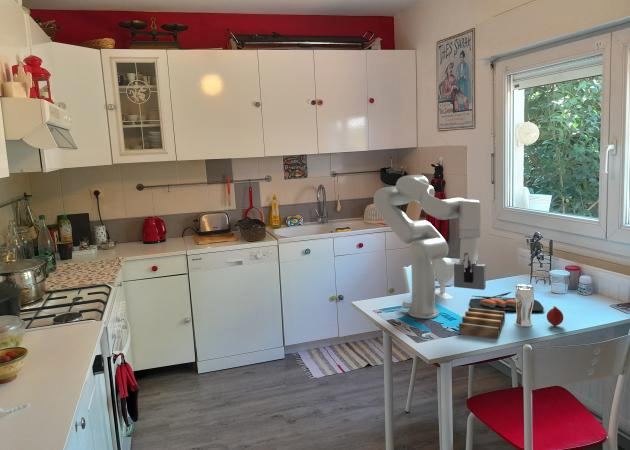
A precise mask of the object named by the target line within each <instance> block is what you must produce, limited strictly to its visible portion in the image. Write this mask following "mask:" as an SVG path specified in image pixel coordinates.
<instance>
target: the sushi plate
mask: <svg viewBox="0 0 630 450" xmlns="http://www.w3.org/2000/svg"><path fill="white" fill-rule="evenodd" d="M511 293H512V291H509V292H506V293H501V294H497V295H493V296H483V295H482V296H480V295H473V296H474V297H473V298H471V299H469V304H470V306H471V308H477V309H486V310H495V311H515V312H516V307H515V297H504V296H505V295H508V294H511ZM501 296H503V297H501ZM481 297H482V298H481ZM544 310H545V309H544V306H543V305H542V304H541V302H540V301H538V300H536V299H534V303H533V308H532V312H542V311H544Z"/></svg>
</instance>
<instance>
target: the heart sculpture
mask: <svg viewBox="0 0 630 450" xmlns="http://www.w3.org/2000/svg"><path fill="white" fill-rule="evenodd" d="M431 264H432V266H433V268H434V271H435V280H436V281H437V283H438V285H439V290H436V289H435V295H437V296H439V297H440V298H442V299H445V300H449V299H453V298H454V297H453V296H452V295H450V294H448V293H446V284H448V282H450V281H451V280H452V279H453V278H454V264H455V263H454V261H453V260H452V258H450V257H445V258H443V259H440V260H436V261H432V262H431Z"/></svg>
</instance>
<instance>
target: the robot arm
mask: <svg viewBox="0 0 630 450" xmlns="http://www.w3.org/2000/svg"><path fill="white" fill-rule="evenodd" d="M435 194H436V191H435V189H434V186H432V185H430V181H429V180H428V178H427V177H426V176H424V175H423V174H411V175H404V176H401V177H400V178H398V179H397V181H396V183H395V185H394V186H386V187H382V188H380V189H378V190H376V191H375V193H374V196H373V204H374V209H375V211H376V213H377V214H378V215H379V216H380V218H382V220H383V221H384V222H385V223H386V224H387V225H388V226H389V227H390V230H392V231H393V233H394V234H395V235H396V236H397V237H398V239H399V240H400V241H401V242H402V243H403V244H405V245H410V247H409V249H408V250H409V251H408V254H409V259H410V267H411V301H409V302H407V301H402V304H401V305H402V307H403V308H404V309H408V311H407V314H408V315H409V316H410V317H412V318H416V319H424V320H425V319H435V318H438V316H439V315H440V312H439V309H437V308H436V294H435V291H436V277H435V271H434V268H433V266H432V261H436V260H440V259H443V258H447V256H448V254H449V245H448V243H447V241H446V239H445V238H444V236H442V234H441V233H440V232H439V231H438V230H437V229H436V228H435V227H434V226H433V225H432V223H431V222H429V221H428V220H425V219H417V220H413V219H410V218H409V217H408V216H407V214H406V213H405V212H404V211H403V210H402V209H400V208H398V207H397V206H400V205H401V206H402V205H407V204H409V203H411V202H412V201H414V202H415V203H418V204H419V205H420V208H421V210H423V212H425V213H426V214H427V215H429V216H431V217H433V218H435V219H437V220H441V221H444V220H449V219H450V220H451V219H456V218H458V219H459V220H458V222H459V223H458V224H459V226H458V227H459V228H458V231H459V233H458V234H459V235H458V237H459V238H460V244H459V263H460V264H462V263H464V282H468V283H473V272H472V264H476V262H477V261H478V259H479V239H480V238H481V213H482V211H481V207H482V206H481V202H480V201H479V200H477V199H466V198H463V197H454V198H445V199H439V198H438V197H435ZM468 263H470V264H468Z"/></svg>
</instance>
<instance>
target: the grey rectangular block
mask: <svg viewBox="0 0 630 450" xmlns="http://www.w3.org/2000/svg"><path fill="white" fill-rule="evenodd" d="M468 264H470V263H468ZM486 265H487V264H485V263H475V264H472V272H473V283H468V282H464V263H462V264H460V261H458V262H457V261H456V262H455V263H454V275H453V282H454V283H453V287H454V288H459V289H460V288H461V289H469V290H481V291H484V290H485V289H486V287H487V286H486V285H487V284H486V277H487V275H486V274H487V273H486V272H487V271H486V270H487V268H486V267H487V266H486Z"/></svg>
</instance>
